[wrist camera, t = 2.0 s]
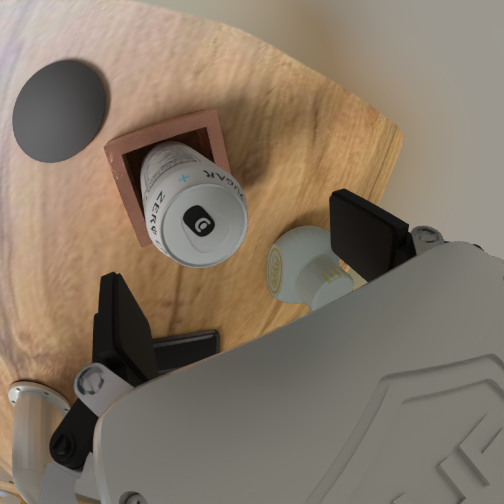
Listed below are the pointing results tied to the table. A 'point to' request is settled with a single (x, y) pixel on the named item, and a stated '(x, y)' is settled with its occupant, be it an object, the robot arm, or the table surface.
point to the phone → (184, 349)
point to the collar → (118, 147)
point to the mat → (58, 111)
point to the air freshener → (306, 268)
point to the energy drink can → (191, 206)
